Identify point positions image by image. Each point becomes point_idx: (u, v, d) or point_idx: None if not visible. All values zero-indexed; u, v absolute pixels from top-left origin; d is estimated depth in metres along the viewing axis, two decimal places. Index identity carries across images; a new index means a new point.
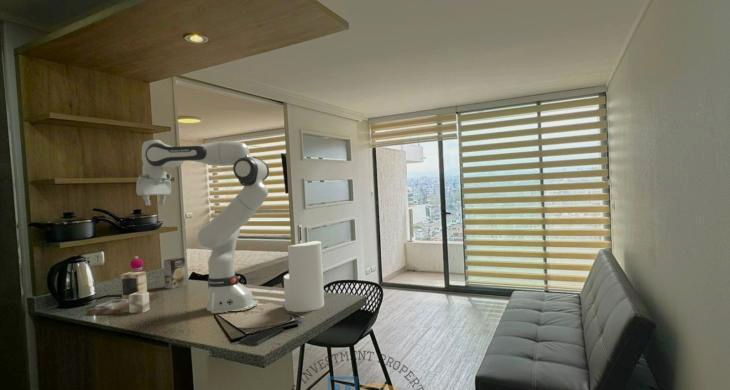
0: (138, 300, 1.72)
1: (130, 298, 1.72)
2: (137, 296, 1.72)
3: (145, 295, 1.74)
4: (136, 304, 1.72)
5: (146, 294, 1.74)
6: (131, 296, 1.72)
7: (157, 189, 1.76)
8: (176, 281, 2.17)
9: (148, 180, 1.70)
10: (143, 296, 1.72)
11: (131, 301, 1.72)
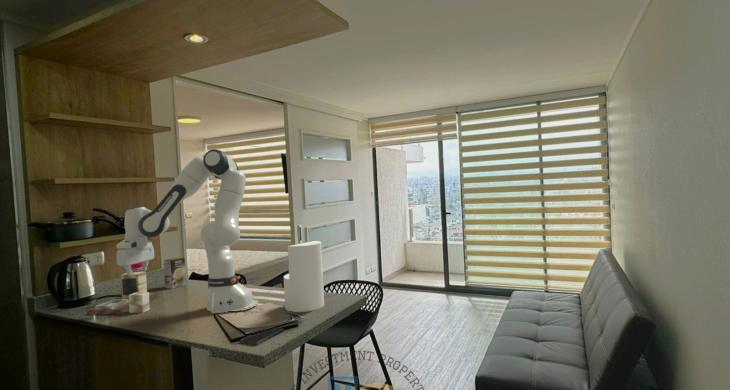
0: (138, 300, 1.72)
1: (130, 298, 1.72)
2: (137, 296, 1.72)
3: (145, 295, 1.74)
4: (136, 304, 1.72)
5: (146, 294, 1.74)
6: (131, 296, 1.72)
7: None
8: (176, 281, 2.17)
9: None
10: (143, 296, 1.72)
11: (131, 301, 1.72)
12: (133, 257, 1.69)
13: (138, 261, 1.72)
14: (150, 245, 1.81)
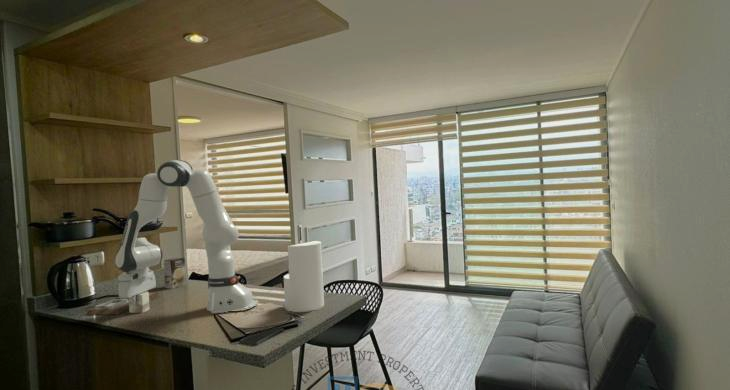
0: (138, 300, 1.72)
1: None
2: (137, 296, 1.72)
3: (145, 295, 1.74)
4: None
5: (146, 294, 1.74)
6: None
7: None
8: (176, 281, 2.17)
9: None
10: (143, 296, 1.72)
11: None
12: (135, 288, 1.69)
13: (140, 292, 1.72)
14: (151, 274, 1.81)
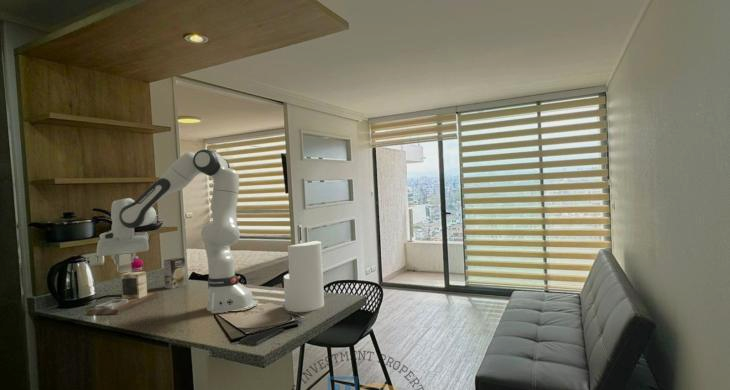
0: (118, 260, 1.73)
1: (117, 257, 1.76)
2: (118, 256, 1.73)
3: (125, 256, 1.73)
4: (118, 264, 1.74)
5: (126, 255, 1.73)
6: (117, 255, 1.75)
7: None
8: (176, 281, 2.17)
9: None
10: (121, 257, 1.72)
11: None
12: (112, 248, 1.71)
13: (121, 252, 1.73)
14: (141, 237, 1.79)
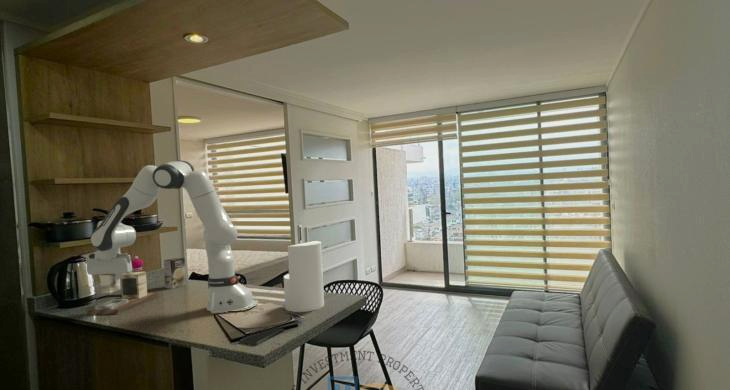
0: None
1: None
2: None
3: (104, 277, 1.74)
4: None
5: (105, 276, 1.74)
6: None
7: None
8: (176, 281, 2.17)
9: None
10: (101, 277, 1.74)
11: None
12: (97, 268, 1.76)
13: (104, 272, 1.75)
14: (121, 259, 1.75)
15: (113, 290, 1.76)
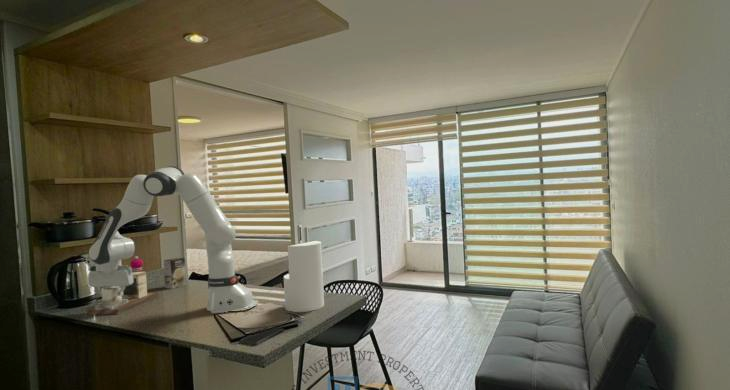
0: None
1: None
2: None
3: (106, 291, 1.74)
4: None
5: (107, 291, 1.74)
6: None
7: None
8: (176, 281, 2.17)
9: None
10: (103, 292, 1.74)
11: None
12: (99, 280, 1.76)
13: (105, 285, 1.76)
14: (122, 271, 1.75)
15: None
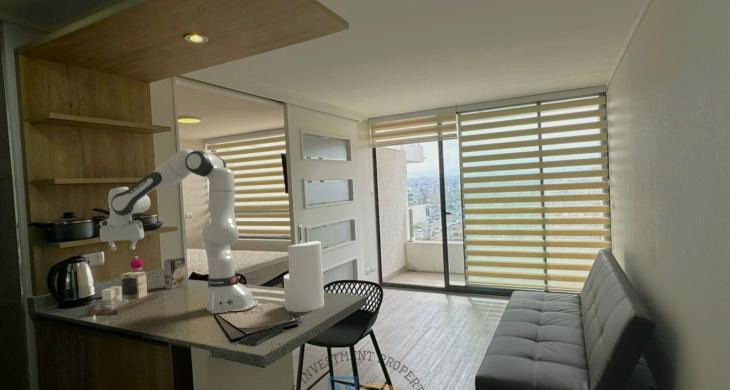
0: None
1: None
2: None
3: (106, 291, 1.74)
4: None
5: (107, 291, 1.74)
6: None
7: None
8: (176, 281, 2.17)
9: None
10: (103, 292, 1.74)
11: None
12: (110, 234, 1.81)
13: (117, 239, 1.81)
14: (133, 225, 1.80)
15: None
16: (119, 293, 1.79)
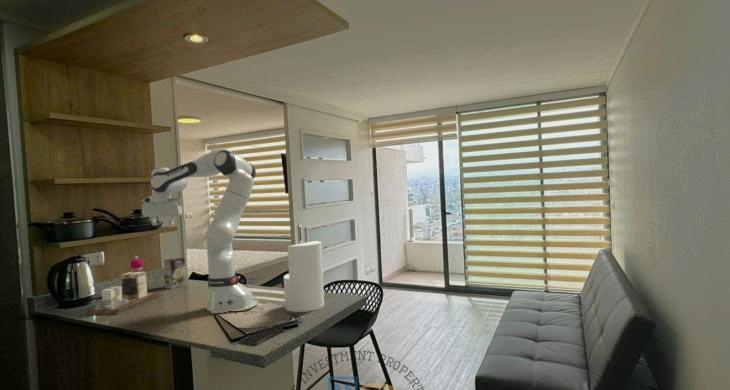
0: None
1: None
2: None
3: (106, 291, 1.74)
4: None
5: (107, 291, 1.74)
6: None
7: None
8: (176, 281, 2.17)
9: None
10: (103, 292, 1.74)
11: None
12: (152, 210, 1.99)
13: (158, 215, 1.98)
14: (172, 202, 1.97)
15: None
16: (119, 293, 1.79)
